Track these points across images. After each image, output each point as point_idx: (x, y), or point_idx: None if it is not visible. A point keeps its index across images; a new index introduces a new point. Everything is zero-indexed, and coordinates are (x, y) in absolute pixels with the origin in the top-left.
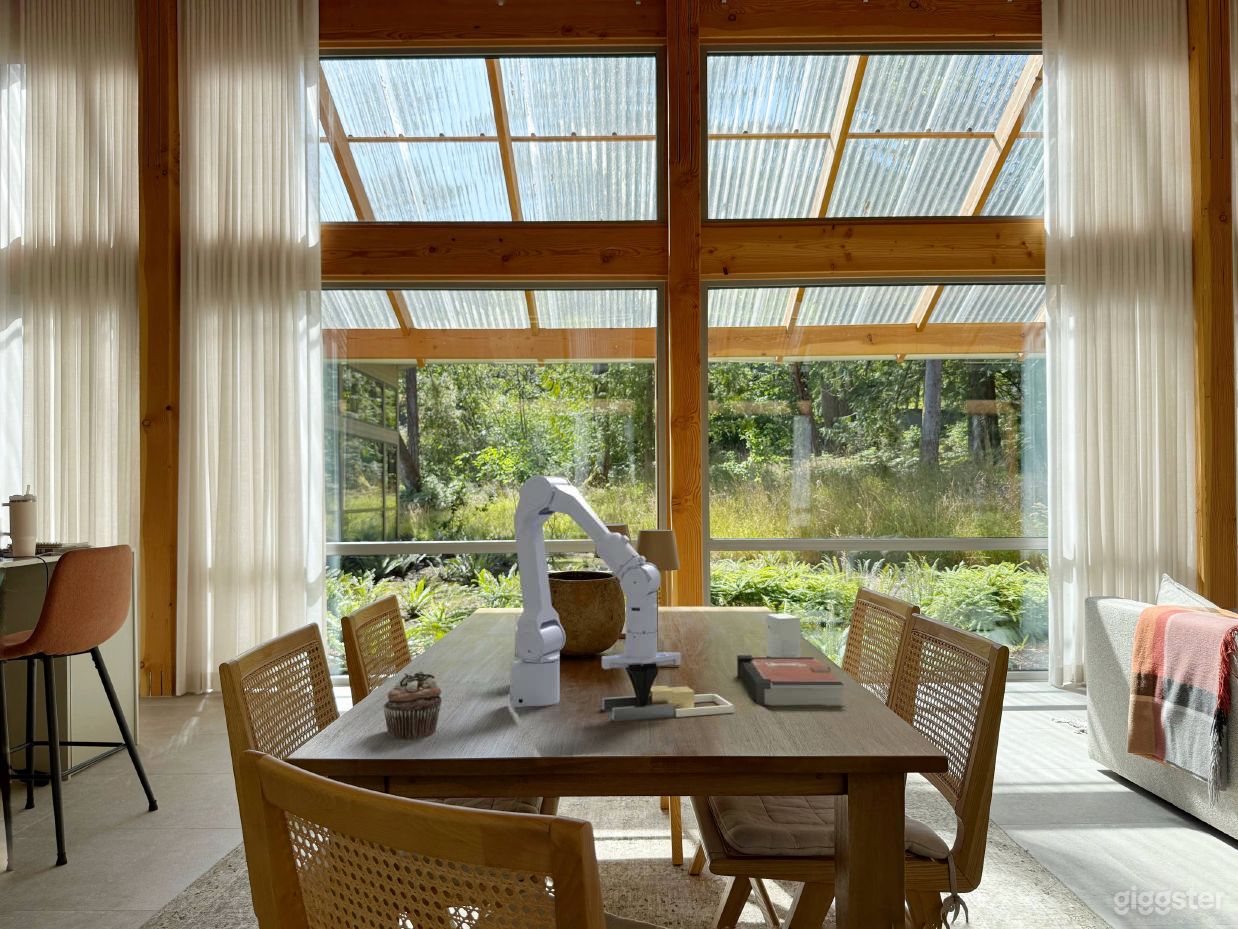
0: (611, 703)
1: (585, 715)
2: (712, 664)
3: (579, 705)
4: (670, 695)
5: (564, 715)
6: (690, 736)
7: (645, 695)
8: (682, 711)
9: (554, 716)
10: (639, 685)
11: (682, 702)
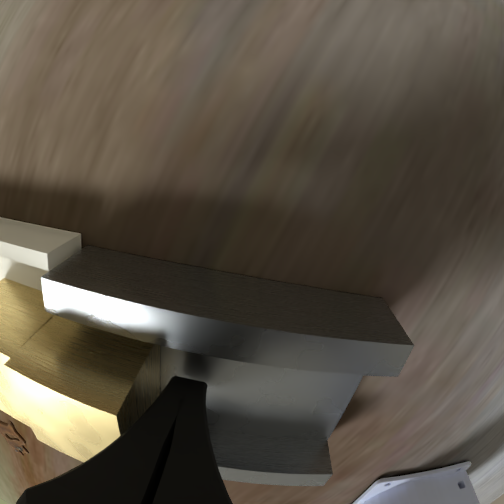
0: (299, 459)
1: (368, 440)
2: (9, 481)
3: (318, 494)
4: (30, 356)
5: (412, 446)
6: (123, 12)
7: (165, 418)
8: (28, 243)
9: (436, 442)
10: (199, 482)
11: (7, 314)
